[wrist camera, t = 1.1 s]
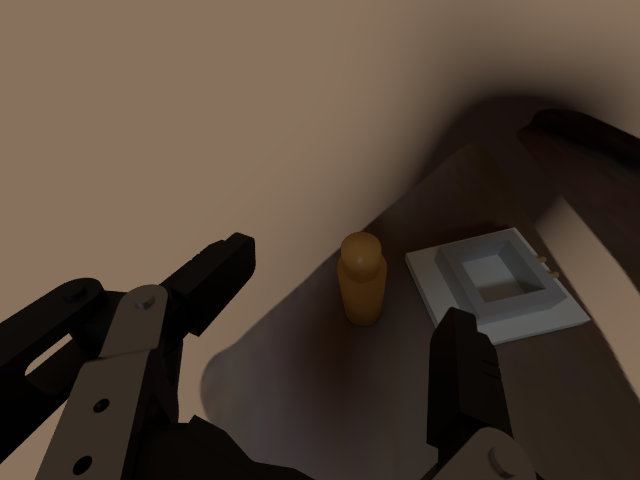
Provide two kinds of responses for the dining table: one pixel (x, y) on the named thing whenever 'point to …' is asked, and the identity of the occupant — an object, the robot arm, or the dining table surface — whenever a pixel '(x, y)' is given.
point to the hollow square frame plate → (494, 286)
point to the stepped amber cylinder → (362, 278)
